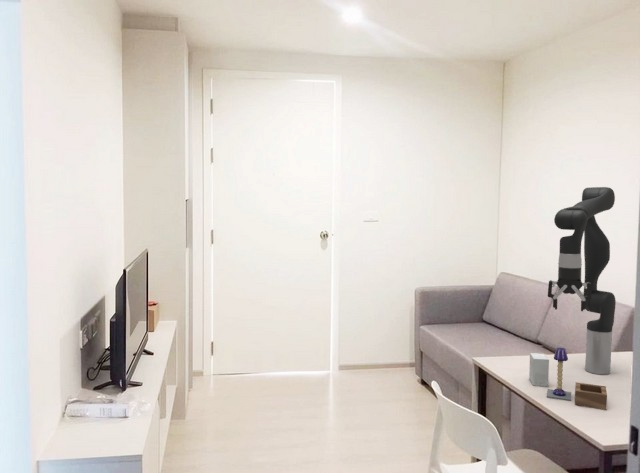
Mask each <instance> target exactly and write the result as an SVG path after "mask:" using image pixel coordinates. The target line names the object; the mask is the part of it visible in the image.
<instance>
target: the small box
mask: <svg viewBox="0 0 640 473" xmlns="http://www.w3.org/2000/svg"><path fill="white" fill-rule="evenodd" d="M549 369H550V359H549V358H548V357H547V355H546V353H538V352H537V353H536V352H533V353H532V352H529V372H528V373H529V374H528V375H529V376H528V377H529V381H530V383H531V384H532V386H535V387H536V386H537V387H538V386H539V387H549V379H550V378H549V374H550V372H549Z"/></svg>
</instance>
